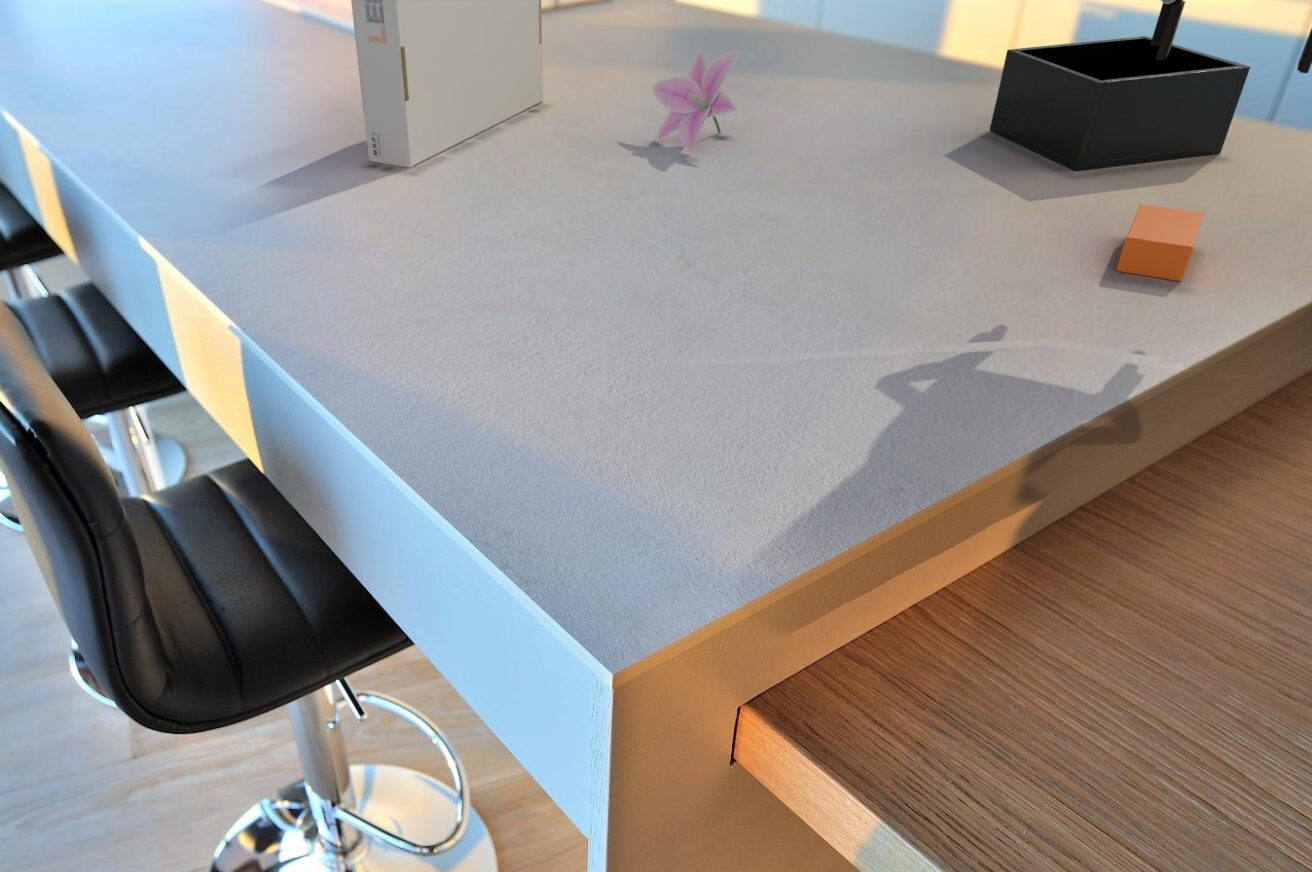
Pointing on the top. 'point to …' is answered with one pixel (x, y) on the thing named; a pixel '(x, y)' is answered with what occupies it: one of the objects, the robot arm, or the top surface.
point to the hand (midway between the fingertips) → (1230, 62)
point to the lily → (695, 97)
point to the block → (1160, 242)
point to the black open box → (1116, 102)
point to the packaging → (443, 71)
